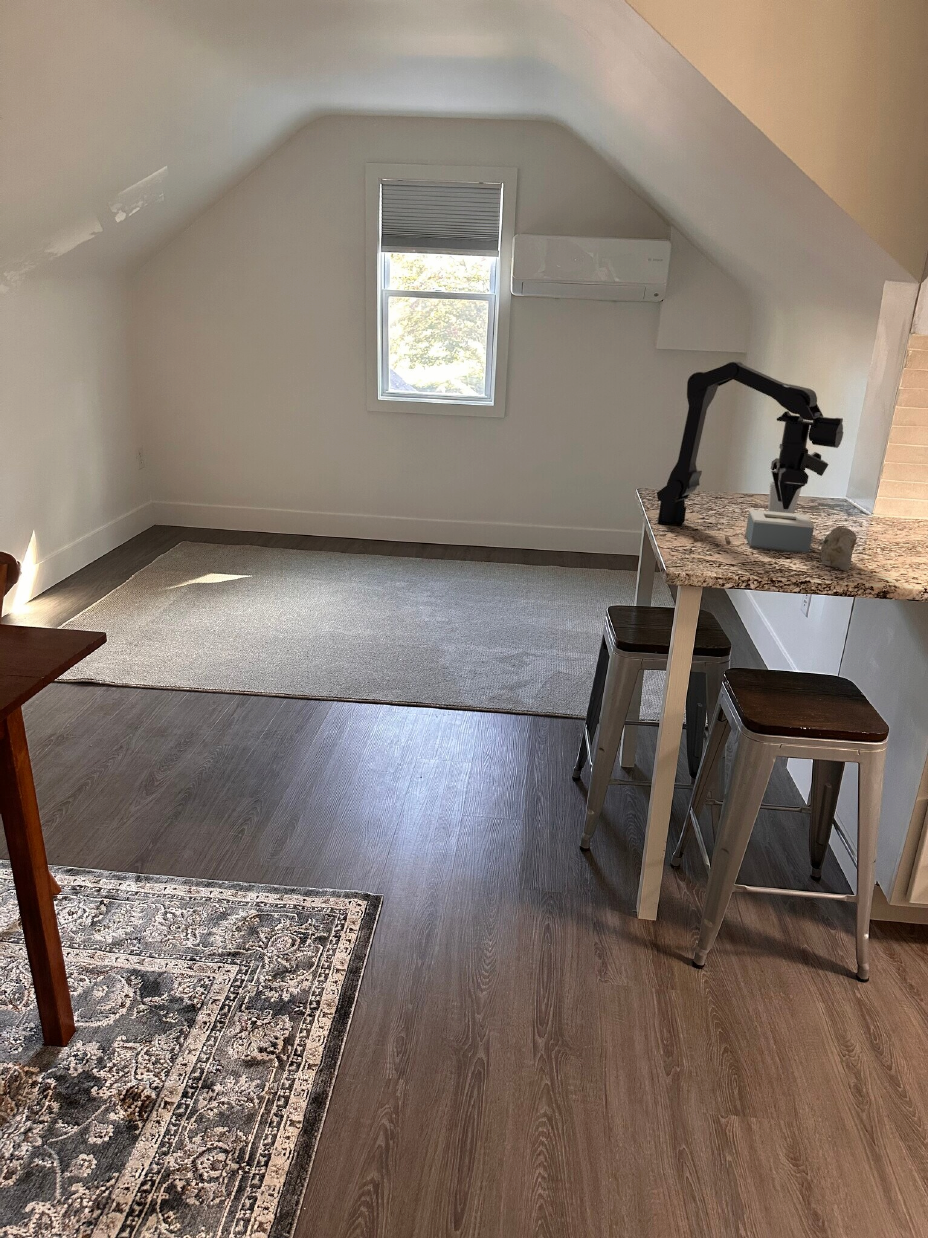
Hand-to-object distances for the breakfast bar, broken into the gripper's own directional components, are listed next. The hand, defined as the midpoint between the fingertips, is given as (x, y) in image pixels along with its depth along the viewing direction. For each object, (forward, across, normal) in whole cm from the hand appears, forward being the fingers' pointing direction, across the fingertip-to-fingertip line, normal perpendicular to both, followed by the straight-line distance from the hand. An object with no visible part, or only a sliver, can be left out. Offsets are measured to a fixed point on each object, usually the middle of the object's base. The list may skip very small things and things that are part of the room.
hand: (782, 505), depth 224 cm
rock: (+10, -15, -11) cm, 21 cm away
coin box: (+10, 0, 0) cm, 10 cm away
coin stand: (+10, -2, +16) cm, 19 cm away
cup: (+10, +19, -3) cm, 22 cm away
